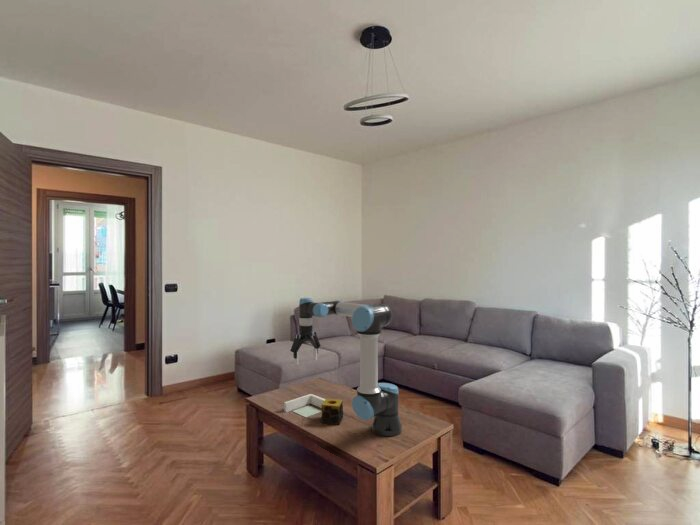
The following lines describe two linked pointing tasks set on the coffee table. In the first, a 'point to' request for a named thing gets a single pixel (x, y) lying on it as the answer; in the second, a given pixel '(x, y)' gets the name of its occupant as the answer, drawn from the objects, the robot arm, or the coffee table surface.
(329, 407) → the candle
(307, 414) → the pad
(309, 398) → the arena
